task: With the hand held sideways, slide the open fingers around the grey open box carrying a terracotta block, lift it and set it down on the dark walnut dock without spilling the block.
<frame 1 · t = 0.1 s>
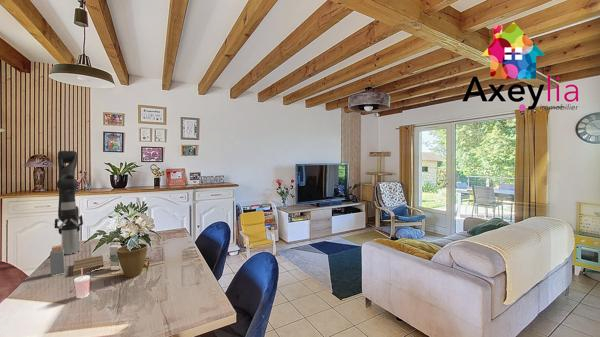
hand: (69, 232, 175), 17 cm above the table, tool pointing down, fingers open, 8 cm apart
grey open box: (58, 273, 152), on the table, touching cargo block
syrup box: (118, 268, 159), on the table
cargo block: (57, 253, 152), point 12 cm above the table, touching grey open box
plant pot: (133, 275, 150), on the table
beverage cup: (82, 296, 127), on the table
dock: (89, 267, 161), on the table
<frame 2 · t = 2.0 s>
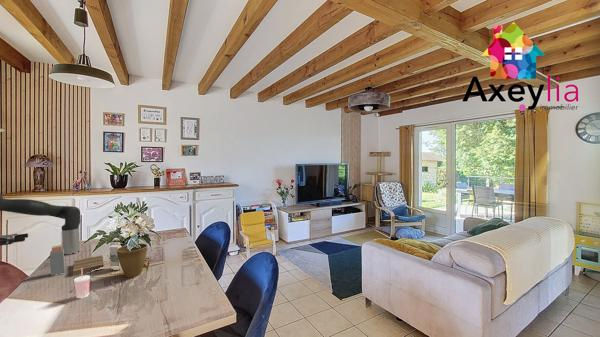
hand: (26, 237, 144), 24 cm above the table, tool horizontal, fingers open, 8 cm apart
nothing on the table moved.
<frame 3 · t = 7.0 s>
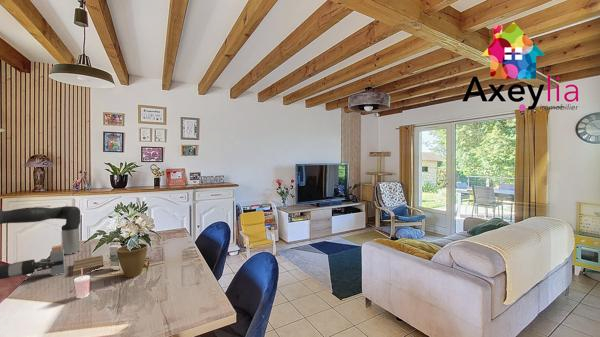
hand: (63, 260, 153), 7 cm above the table, tool horizontal, fingers closed on grey open box, 5 cm apart
grey open box: (58, 273, 152), on the table, touching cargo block, gripper
everything else where it was.
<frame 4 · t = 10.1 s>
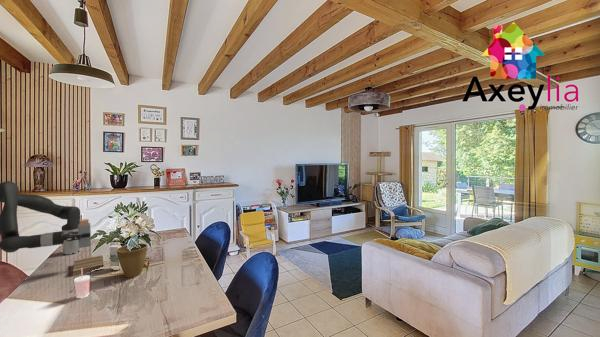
hand: (89, 233, 161), 21 cm above the table, tool horizontal, fingers closed on grey open box, 5 cm apart
grey open box: (85, 245, 159), point 14 cm above the table, touching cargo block, gripper
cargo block: (84, 226, 159), point 26 cm above the table, touching grey open box
everything else where it was.
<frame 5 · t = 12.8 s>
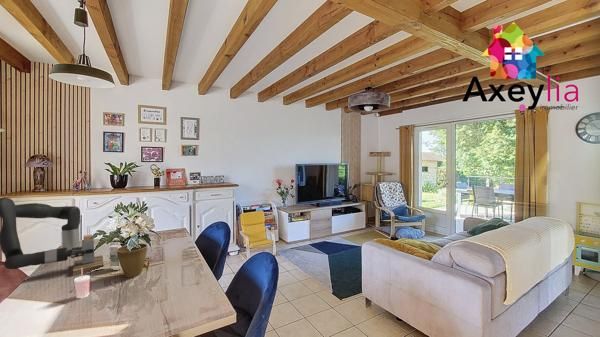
hand: (93, 249, 162), 11 cm above the table, tool horizontal, fingers closed on grey open box, 5 cm apart
grey open box: (88, 261, 160), point 4 cm above the table, touching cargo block, gripper
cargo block: (88, 242, 160), point 16 cm above the table, touching grey open box
everything else where it was.
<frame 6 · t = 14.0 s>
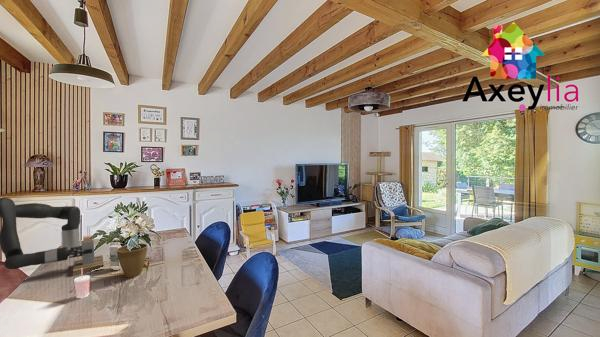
hand: (92, 248, 161), 11 cm above the table, tool horizontal, fingers open, 8 cm apart
grey open box: (88, 262, 161), point 3 cm above the table, touching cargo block, dock
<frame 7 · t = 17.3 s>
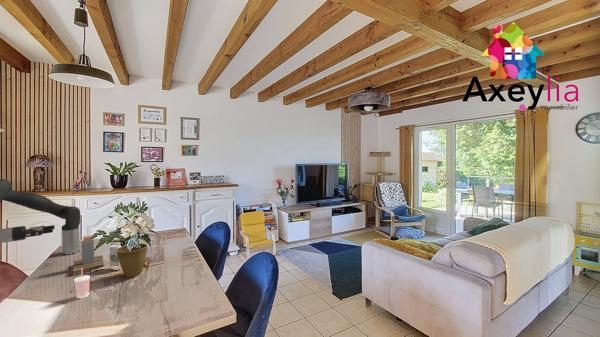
hand: (53, 228, 151), 26 cm above the table, tool horizontal, fingers open, 8 cm apart
nothing on the table moved.
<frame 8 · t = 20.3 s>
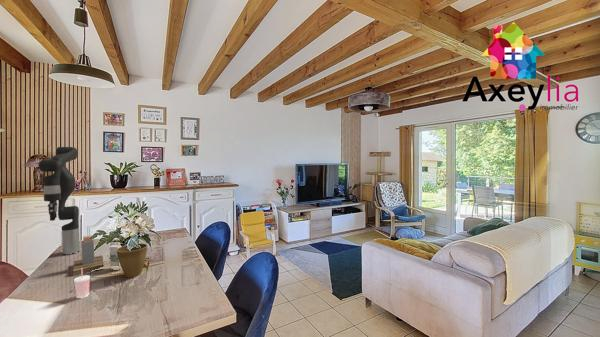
hand: (53, 219, 159), 30 cm above the table, tool pointing down, fingers open, 8 cm apart
nothing on the table moved.
at the end: grey open box inside the target area on the dock (0.1 cm from its centre), point 3.0 cm above the dock's base; grey open box tilted 0°; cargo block 0.0 cm off-centre on the grey open box, point 12.0 cm above the grey open box's base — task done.
